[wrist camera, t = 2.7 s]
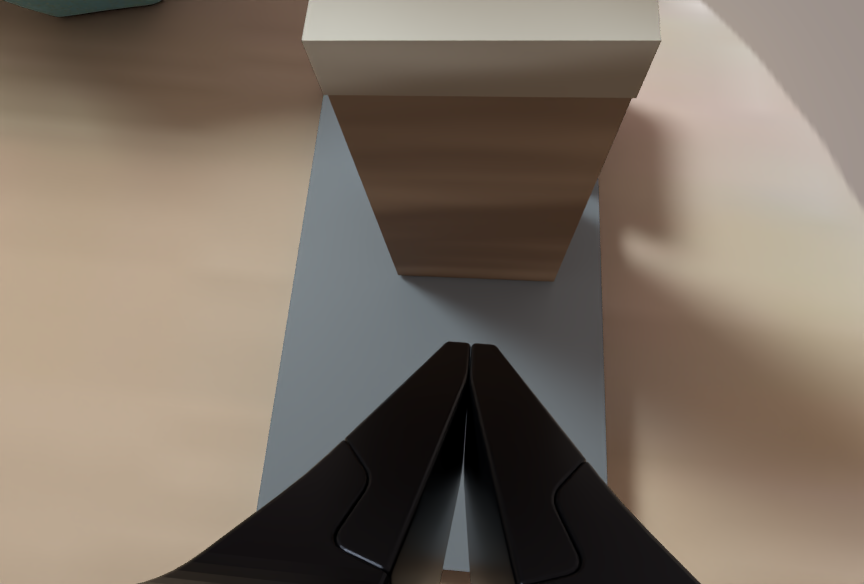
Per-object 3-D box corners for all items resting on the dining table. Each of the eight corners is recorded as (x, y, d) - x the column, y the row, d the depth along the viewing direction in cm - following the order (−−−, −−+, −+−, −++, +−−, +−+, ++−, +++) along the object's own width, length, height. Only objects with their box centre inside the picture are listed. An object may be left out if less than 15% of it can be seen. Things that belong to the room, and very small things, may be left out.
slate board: (601, 577, 15) (630, 602, 12) (263, 546, 16) (218, 563, 13) (589, 84, 20) (608, 22, 18) (334, 82, 21) (313, 23, 19)
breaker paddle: (555, 283, 17) (661, 40, 7) (396, 276, 17) (301, 40, 8) (555, 196, 18) (649, -119, 8) (404, 192, 18) (329, -111, 9)
